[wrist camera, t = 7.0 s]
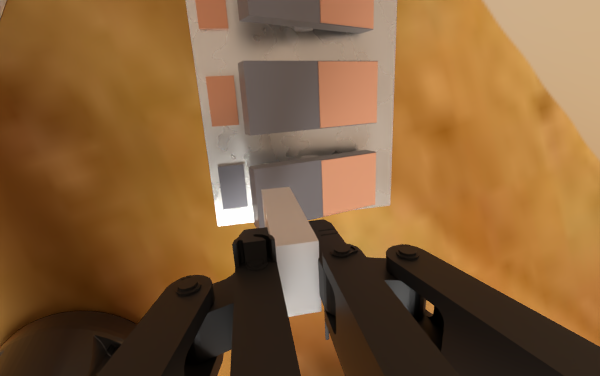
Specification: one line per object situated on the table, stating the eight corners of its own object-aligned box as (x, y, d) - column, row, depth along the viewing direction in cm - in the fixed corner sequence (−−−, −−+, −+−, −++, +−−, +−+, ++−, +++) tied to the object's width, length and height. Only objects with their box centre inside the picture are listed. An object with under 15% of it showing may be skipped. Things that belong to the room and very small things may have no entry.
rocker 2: (241, 132, 19) (250, 135, 17) (233, 65, 18) (243, 60, 16) (357, 121, 23) (377, 123, 21) (357, 65, 21) (378, 60, 19)
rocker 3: (250, 220, 21) (260, 231, 19) (244, 163, 20) (254, 169, 18) (357, 196, 24) (375, 204, 22) (357, 148, 23) (376, 151, 21)
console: (221, 205, 27) (217, 228, 22) (190, -23, 22) (176, -60, 17) (366, 189, 30) (391, 206, 24) (368, -21, 24) (401, -53, 19)
